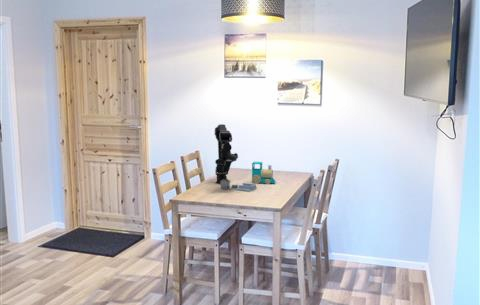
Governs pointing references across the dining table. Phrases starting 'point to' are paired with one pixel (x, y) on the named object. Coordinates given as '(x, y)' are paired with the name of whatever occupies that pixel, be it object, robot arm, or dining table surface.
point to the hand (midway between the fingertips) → (225, 172)
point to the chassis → (244, 187)
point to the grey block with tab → (225, 184)
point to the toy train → (262, 174)
